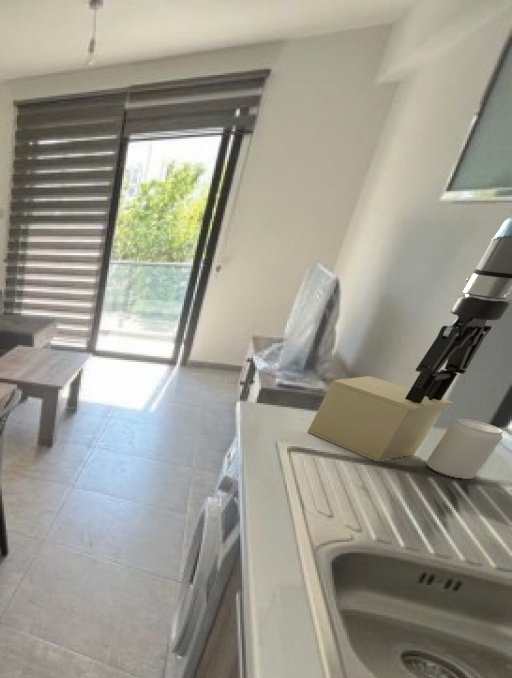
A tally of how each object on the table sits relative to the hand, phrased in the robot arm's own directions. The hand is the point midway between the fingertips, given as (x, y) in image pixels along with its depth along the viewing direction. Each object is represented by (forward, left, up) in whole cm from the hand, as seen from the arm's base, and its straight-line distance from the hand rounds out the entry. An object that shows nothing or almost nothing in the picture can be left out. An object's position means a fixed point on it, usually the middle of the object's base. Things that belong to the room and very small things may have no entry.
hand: (422, 399), depth 111 cm
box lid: (+6, 0, -1) cm, 6 cm away
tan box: (+7, 0, -15) cm, 16 cm away
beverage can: (-9, -5, -15) cm, 18 cm away
